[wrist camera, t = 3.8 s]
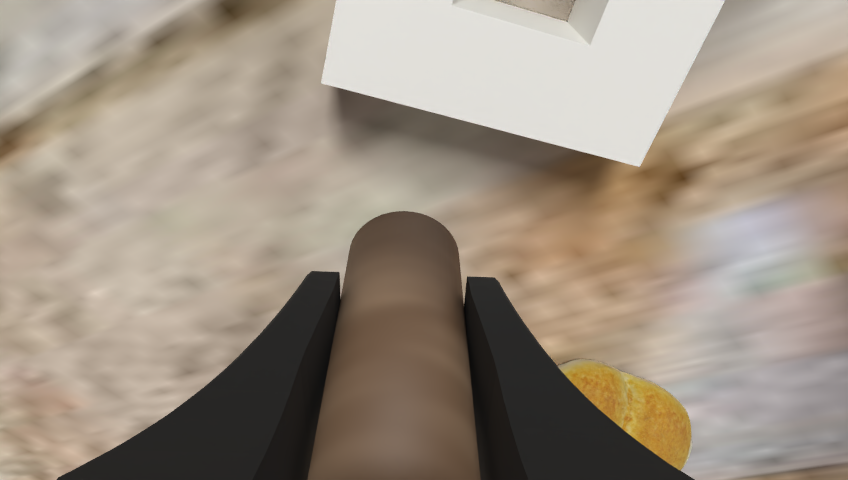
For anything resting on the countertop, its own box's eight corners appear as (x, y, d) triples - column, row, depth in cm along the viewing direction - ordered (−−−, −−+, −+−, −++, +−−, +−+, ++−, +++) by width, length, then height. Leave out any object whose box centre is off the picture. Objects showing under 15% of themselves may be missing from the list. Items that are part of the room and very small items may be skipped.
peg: (473, 227, 15) (510, 474, 9) (440, 311, 16) (451, 572, 10) (363, 199, 14) (321, 439, 8) (338, 288, 16) (288, 547, 10)
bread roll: (542, 330, 26) (561, 398, 23) (704, 389, 28) (743, 460, 25) (459, 443, 30) (465, 516, 27) (607, 488, 32) (629, 561, 29)
